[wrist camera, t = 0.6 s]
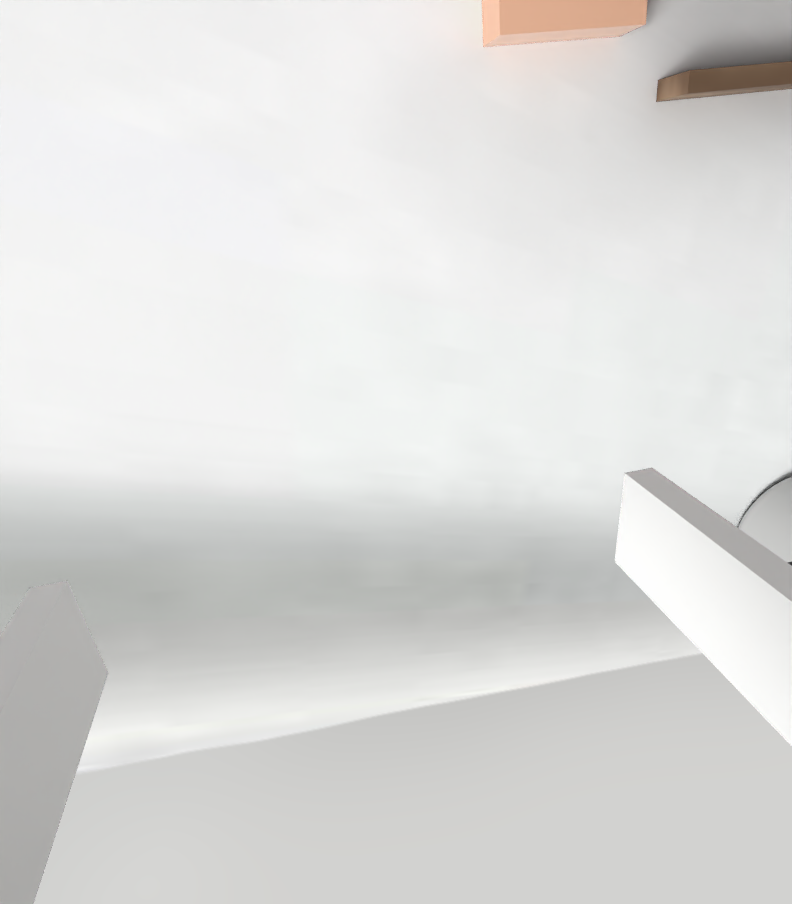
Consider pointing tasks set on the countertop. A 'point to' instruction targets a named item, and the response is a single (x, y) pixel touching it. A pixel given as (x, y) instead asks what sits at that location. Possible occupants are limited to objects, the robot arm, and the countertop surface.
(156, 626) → the countertop surface
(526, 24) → the terracotta tile
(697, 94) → the walnut frame
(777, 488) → the cylinder vase
